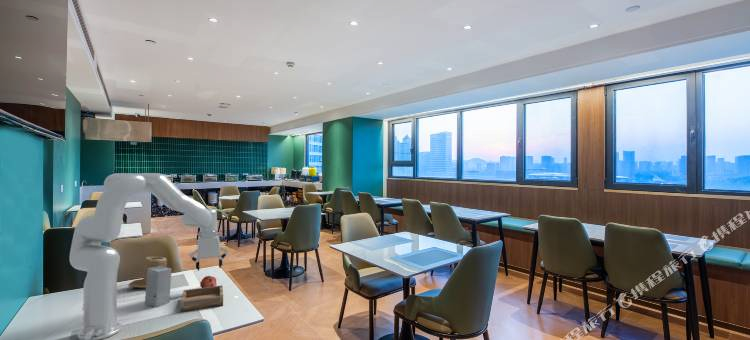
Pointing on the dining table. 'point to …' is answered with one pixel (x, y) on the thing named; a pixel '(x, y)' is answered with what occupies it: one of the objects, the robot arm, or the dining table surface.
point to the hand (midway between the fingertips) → (209, 268)
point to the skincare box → (158, 286)
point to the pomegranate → (208, 282)
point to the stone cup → (147, 263)
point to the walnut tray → (201, 298)
